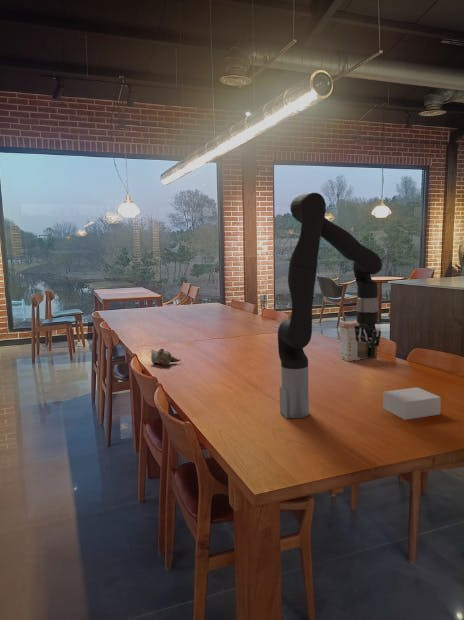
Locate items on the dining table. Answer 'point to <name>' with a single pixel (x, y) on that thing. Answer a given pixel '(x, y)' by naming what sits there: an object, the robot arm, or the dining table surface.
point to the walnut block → (364, 350)
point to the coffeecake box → (348, 340)
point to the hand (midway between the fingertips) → (367, 355)
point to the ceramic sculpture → (162, 357)
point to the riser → (411, 403)
